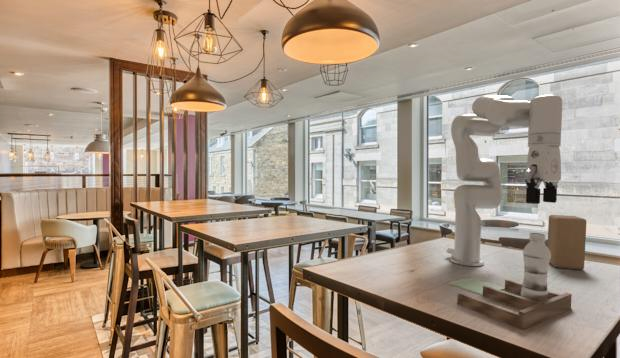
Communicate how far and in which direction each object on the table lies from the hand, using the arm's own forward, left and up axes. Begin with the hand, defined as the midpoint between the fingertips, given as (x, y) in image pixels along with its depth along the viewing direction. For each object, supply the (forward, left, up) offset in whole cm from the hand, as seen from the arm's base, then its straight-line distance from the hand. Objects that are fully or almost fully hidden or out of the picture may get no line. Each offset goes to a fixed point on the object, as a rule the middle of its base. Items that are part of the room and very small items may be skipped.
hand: (541, 202), depth 94 cm
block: (-14, +55, -29) cm, 63 cm away
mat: (-17, -1, -29) cm, 33 cm away
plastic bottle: (0, -1, -29) cm, 29 cm away
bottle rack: (-3, -7, -29) cm, 30 cm away
